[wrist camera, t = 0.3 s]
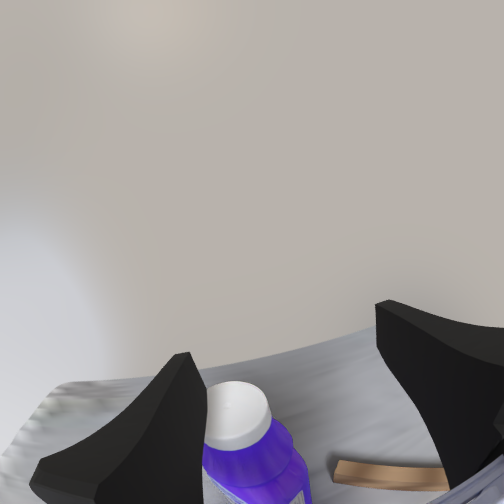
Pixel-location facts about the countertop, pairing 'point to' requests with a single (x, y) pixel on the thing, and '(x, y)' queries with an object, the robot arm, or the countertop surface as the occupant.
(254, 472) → the bottle
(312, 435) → the countertop surface
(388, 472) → the cradle
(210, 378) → the countertop surface
